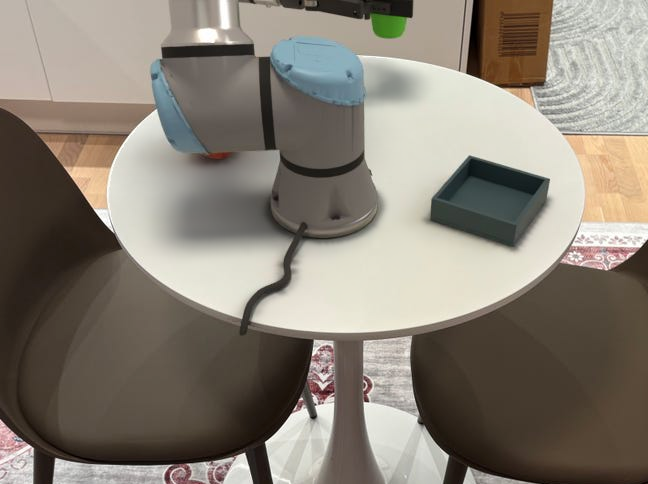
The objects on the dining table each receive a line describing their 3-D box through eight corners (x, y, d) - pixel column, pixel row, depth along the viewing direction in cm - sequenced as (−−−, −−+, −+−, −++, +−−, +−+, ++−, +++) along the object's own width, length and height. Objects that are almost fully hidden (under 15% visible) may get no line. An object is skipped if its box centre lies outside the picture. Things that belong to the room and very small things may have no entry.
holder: (513, 246, 115) (516, 225, 113) (429, 219, 120) (431, 198, 117) (546, 199, 123) (550, 178, 121) (467, 175, 127) (469, 154, 125)
